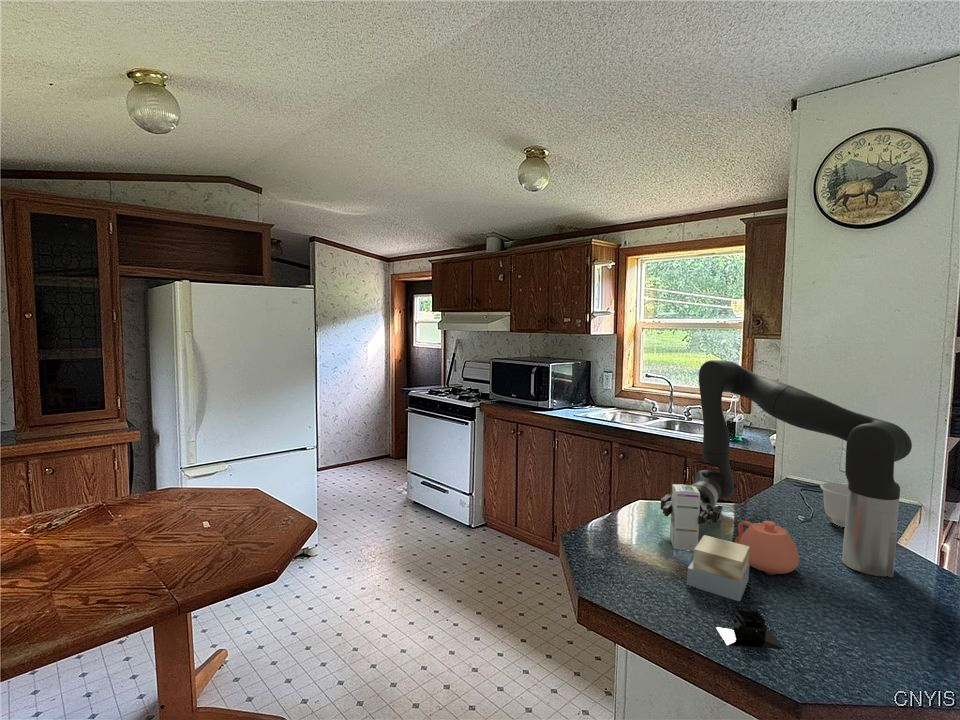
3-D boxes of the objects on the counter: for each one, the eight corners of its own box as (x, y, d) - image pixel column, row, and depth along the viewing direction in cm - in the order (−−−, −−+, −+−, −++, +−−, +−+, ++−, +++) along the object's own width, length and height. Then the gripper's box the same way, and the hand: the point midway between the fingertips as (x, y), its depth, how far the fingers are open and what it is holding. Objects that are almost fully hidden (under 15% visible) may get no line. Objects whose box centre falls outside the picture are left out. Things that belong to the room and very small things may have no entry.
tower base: (748, 583, 108) (749, 564, 108) (739, 603, 100) (741, 583, 100) (698, 568, 114) (699, 551, 114) (686, 586, 106) (687, 567, 106)
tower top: (748, 564, 108) (749, 546, 108) (741, 581, 101) (742, 562, 100) (703, 552, 113) (704, 534, 113) (693, 567, 106) (694, 549, 106)
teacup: (867, 519, 145) (870, 485, 145) (873, 537, 133) (876, 500, 132) (816, 510, 152) (819, 477, 151) (817, 526, 139) (820, 490, 138)
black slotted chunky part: (719, 651, 86) (721, 624, 85) (704, 625, 93) (705, 600, 92) (796, 656, 85) (799, 630, 84) (774, 629, 92) (776, 605, 92)
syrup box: (698, 552, 121) (702, 492, 120) (672, 549, 123) (675, 490, 121) (693, 542, 127) (696, 485, 126) (668, 539, 128) (671, 483, 127)
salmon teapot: (776, 584, 107) (779, 537, 106) (717, 556, 120) (720, 514, 119) (810, 572, 113) (813, 527, 112) (751, 547, 125) (754, 506, 124)
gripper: (673, 479, 140) (653, 494, 126) (730, 490, 131) (715, 508, 118) (671, 505, 140) (651, 523, 127) (728, 518, 132) (713, 539, 118)
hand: (682, 516), depth 122 cm, fingers closed on syrup box, 7 cm apart
